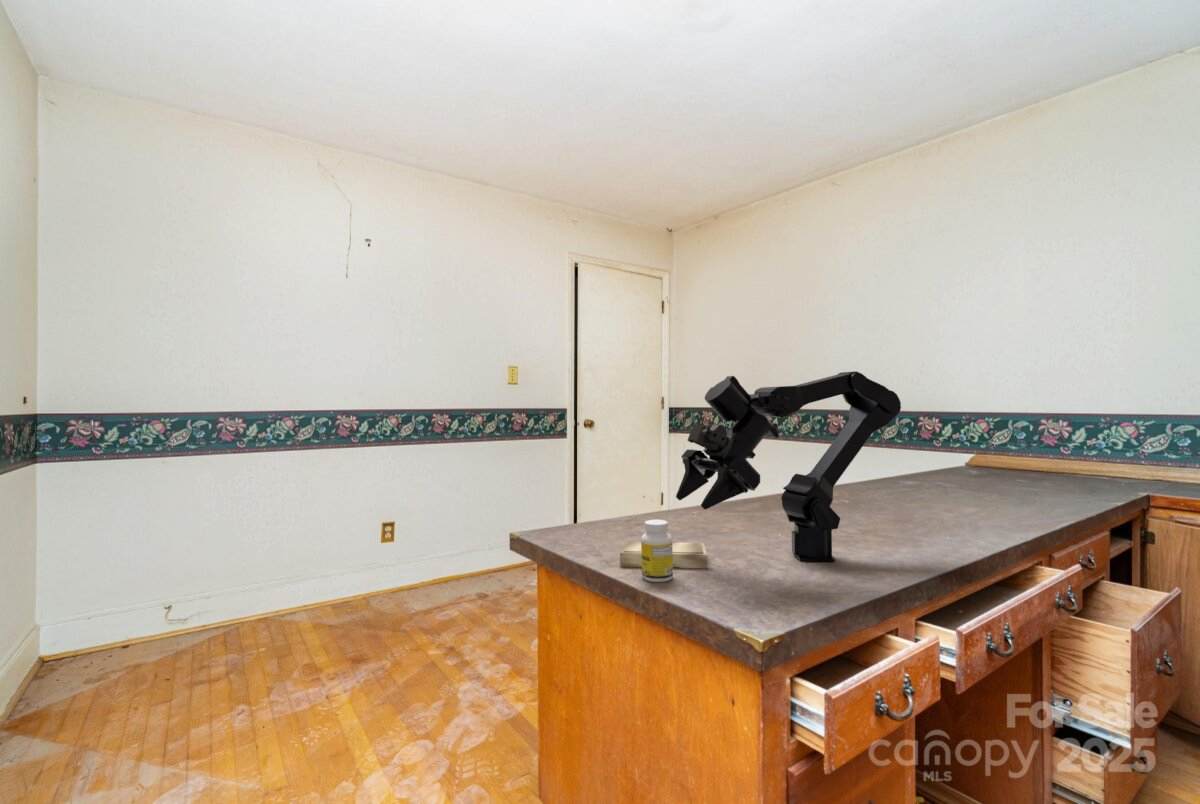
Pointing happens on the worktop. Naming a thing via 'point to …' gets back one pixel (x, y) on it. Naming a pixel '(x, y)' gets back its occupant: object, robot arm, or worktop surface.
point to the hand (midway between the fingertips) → (689, 502)
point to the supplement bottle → (657, 552)
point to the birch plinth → (682, 553)
